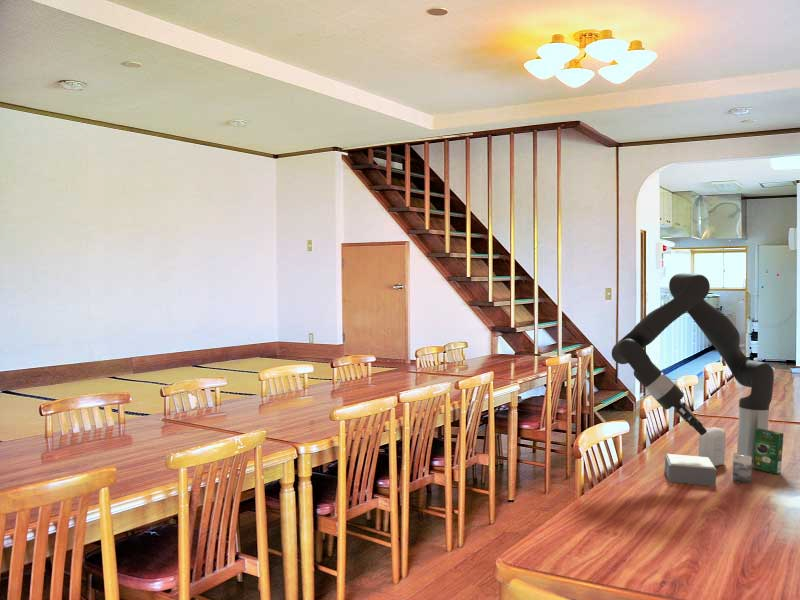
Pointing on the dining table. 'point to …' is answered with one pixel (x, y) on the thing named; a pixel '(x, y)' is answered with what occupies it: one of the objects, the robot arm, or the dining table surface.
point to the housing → (742, 467)
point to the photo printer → (713, 445)
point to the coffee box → (768, 451)
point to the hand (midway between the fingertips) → (702, 430)
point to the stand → (690, 469)
